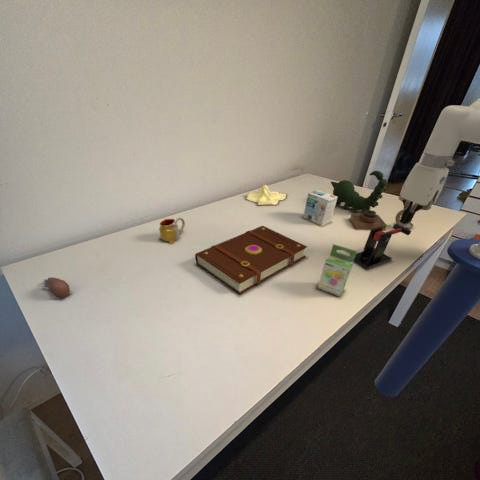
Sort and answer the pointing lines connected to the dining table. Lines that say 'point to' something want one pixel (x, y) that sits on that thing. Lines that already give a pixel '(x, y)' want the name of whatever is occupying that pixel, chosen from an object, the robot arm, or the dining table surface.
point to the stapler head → (393, 231)
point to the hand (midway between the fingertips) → (404, 222)
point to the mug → (170, 229)
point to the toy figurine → (353, 199)
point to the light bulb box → (320, 207)
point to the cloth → (265, 196)
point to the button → (370, 213)
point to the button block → (367, 221)
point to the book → (250, 258)
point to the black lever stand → (374, 250)
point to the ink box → (336, 270)
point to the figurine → (57, 287)
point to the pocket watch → (407, 225)
